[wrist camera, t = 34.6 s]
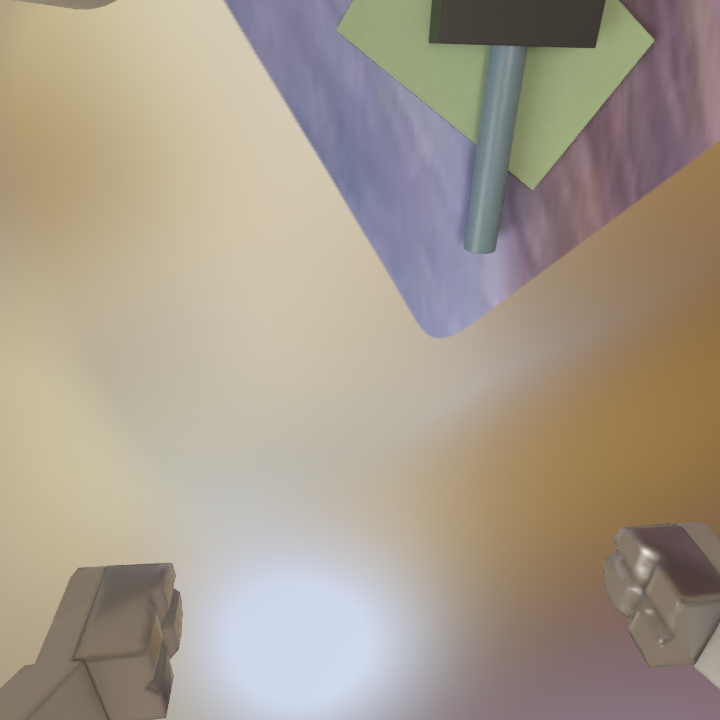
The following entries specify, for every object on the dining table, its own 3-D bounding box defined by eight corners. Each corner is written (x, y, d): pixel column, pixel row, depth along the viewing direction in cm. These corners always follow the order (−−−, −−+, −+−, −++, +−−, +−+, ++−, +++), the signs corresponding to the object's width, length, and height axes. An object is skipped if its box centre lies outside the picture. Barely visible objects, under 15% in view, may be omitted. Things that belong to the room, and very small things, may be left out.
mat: (335, 29, 35) (336, 29, 34) (454, -175, 30) (457, -179, 30) (530, 188, 41) (532, 190, 41) (650, 40, 37) (655, 40, 36)
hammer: (535, 243, 43) (551, 256, 40) (412, 244, 42) (420, 257, 39) (585, -7, 35) (608, -10, 32) (432, -13, 33) (444, -17, 31)
